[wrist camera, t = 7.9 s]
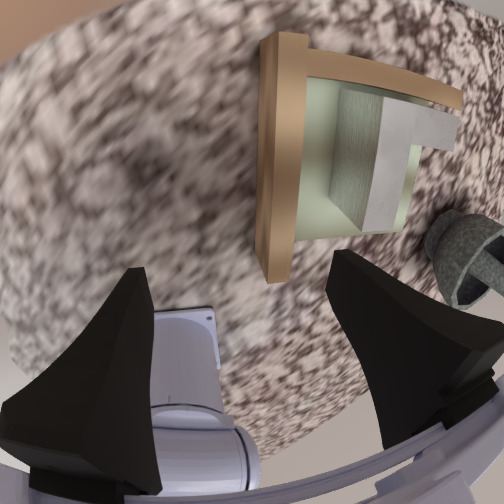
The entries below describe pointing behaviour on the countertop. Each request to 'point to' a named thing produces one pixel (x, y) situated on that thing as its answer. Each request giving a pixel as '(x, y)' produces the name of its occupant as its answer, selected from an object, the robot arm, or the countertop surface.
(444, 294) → the mortar and pestle
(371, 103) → the bracket
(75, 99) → the countertop surface
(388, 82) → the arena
